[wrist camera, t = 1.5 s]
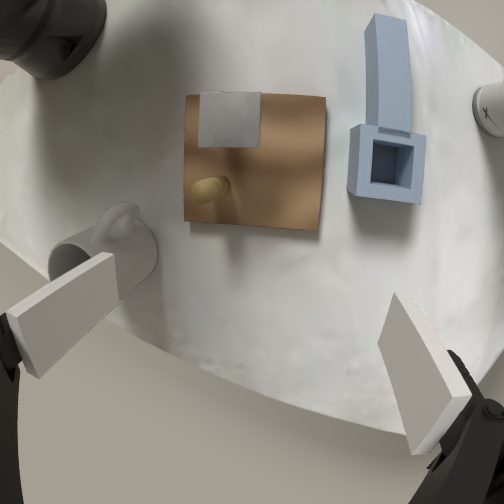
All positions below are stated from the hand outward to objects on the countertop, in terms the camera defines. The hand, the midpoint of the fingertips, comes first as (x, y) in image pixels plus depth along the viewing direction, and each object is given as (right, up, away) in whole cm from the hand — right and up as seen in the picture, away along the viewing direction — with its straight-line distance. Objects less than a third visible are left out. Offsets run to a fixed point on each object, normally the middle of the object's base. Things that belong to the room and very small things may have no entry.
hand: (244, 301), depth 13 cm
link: (+14, +17, +13) cm, 25 cm away
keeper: (0, +14, +14) cm, 20 cm away
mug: (-14, +4, +22) cm, 26 cm away
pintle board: (0, +12, +17) cm, 20 cm away
